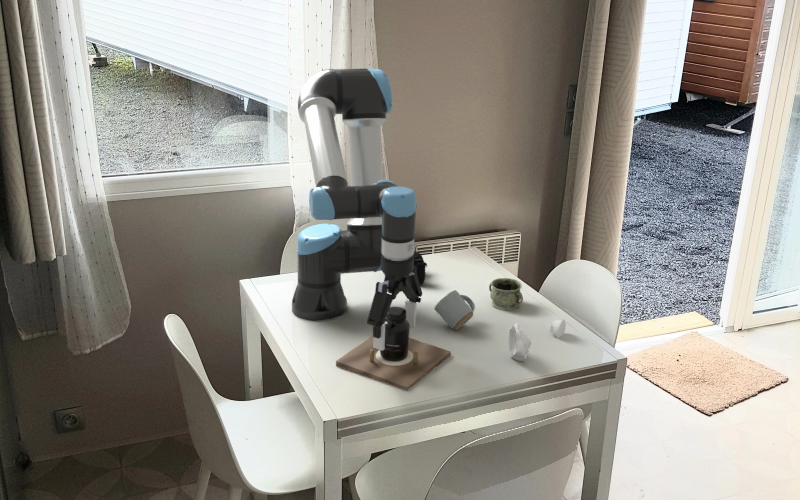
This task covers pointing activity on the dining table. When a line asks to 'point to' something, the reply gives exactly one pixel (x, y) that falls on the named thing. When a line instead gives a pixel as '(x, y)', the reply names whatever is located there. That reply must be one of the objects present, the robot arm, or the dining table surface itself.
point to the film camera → (419, 266)
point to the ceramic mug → (455, 309)
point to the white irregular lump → (558, 328)
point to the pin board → (394, 363)
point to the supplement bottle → (396, 335)
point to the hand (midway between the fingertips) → (394, 336)
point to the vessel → (506, 293)
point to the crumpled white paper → (518, 343)
